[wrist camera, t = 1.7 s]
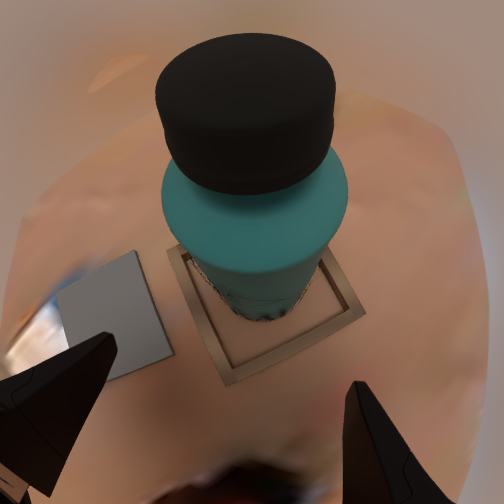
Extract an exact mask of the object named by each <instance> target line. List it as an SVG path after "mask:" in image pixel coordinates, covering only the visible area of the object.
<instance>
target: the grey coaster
mask: <svg viewBox="0 0 504 504" xmlns="http://www.w3.org/2000/svg"><path fill="white" fill-rule="evenodd" d="M56 296H57V301H58V306H59V310H60V315H61V319H62V323H63V327H64V331H65V335H66V339H67V342H68V346H69V348H71V347H73V346H75V345H77V344H79V343H81V342H83V341H85V340H87V339H89V338H91V337H93V336H95V335H97V334H99V333H101V332H103V331H106V332H109V333H112V334H113V335H114V337H115V340H116V344H117V347H118V353H117V356H116V358H115V361H114V363H113V365H112V368H111V370H110V373H109V375H108V378H107V380H106V382H108V381H110V380H113V379H116V378H118V377H121V376H123V375H126V374H128V373H131V372H133V371H136V370H138V369H141V368H143V367H146V366H148V365H151V364H153V363H156V362H158V361H160V360H163V359H165V358H168V357H170V356H172V355H175V353H174V351H173V349H172V346H171V344H170V341H169V339H168V337H167V334H166V332H165V329H164V327H163V324H162V322H161V319H160V317H159V314H158V311H157V309H156V306H155V304H154V301H153V298H152V295H151V293H150V290H149V287H148V284H147V281H146V279H145V276H144V273H143V270H142V267H141V264H140V261H139V258H138V255H137V252H136V251H135V250H132V251H130V252H128V253H127V254H125V255H123V256H121V257H119V258H117V259H115V260H113V261H111V262H110V263H108V264H106V265H104V266H102V267H100V268H99V269H97V270H95V271H93V272H91V273H90V274H88V275H86V276H84V277H82V278H81V279H79V280H77V281H75V282H74V283H72V284H70V285H68V286H67V287H65V288H63V289H61V290H60V291H58V292H56Z"/></svg>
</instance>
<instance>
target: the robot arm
mask: <svg viewBox="0 0 504 504" xmlns="http://www.w3.org/2000/svg"><path fill="white" fill-rule="evenodd" d="M117 353H118V347H117V344H116V340H115V337H114V335H113V334H112V333H109V332H106V331H103V332H101V333H99V334H97V335H95V336H93V337H91V338H89V339H87V340H85V341H83V342H81V343H79V344H77V345H75V346H73V347H71V348H69V349H67V350H65V351H63V352H61V353H59V354H57V355H55V356H53V357H51V358H49V359H47V360H45V361H43V362H41V363H39V364H37V365H36V366H33V367H31V368H29V369H27V370H25V371H23V372H21V373H19V374H16V375H14V376H12V377H9V378H7V379H4V380H1V381H0V504H31V500H30V497H29V493H28V491H27V489H28V488H29V486H32V487H33V488H35V489H36V490H38V491H39V492H41V493H42V494H44V495H46V496H47V497H49V498H50V496H51V494H52V492H53V490H54V487H55V485H56V483H57V481H58V478H59V476H60V474H61V471H62V469H63V467H64V465H65V463H66V460H67V458H68V456H69V454H70V452H71V450H72V447H73V445H74V443H75V441H76V439H77V437H78V435H79V433H80V431H81V429H82V427H83V425H84V423H85V421H86V419H87V417H88V415H89V413H90V411H91V409H92V407H93V405H94V403H95V402H96V400H97V398H98V396H99V394H100V392H101V390H102V388H103V386H104V384H105V382H106V380H107V378H108V375H109V373H110V370H111V368H112V365H113V363H114V361H115V358H116V356H117ZM342 441H343V503H342V504H455V503H454V502H452V501H451V500H450V499H448V498H447V496H446V495H445V494H444V493H443V492H442V491H441V489H440V488H439V487H438V486H437V485H436V484H435V482H434V481H433V480H432V479H431V478H430V476H429V475H428V474H427V473H426V471H425V470H424V469H423V467H422V466H421V465H420V463H419V462H418V460H417V459H416V457H415V456H414V454H413V453H412V451H410V448H409V447H408V445H407V444H406V442H405V441H404V439H403V437H402V436H401V434H400V433H399V431H398V430H397V428H396V427H395V425H394V424H393V422H392V421H391V419H390V418H389V416H388V415H387V413H386V412H385V410H384V409H383V407H382V406H381V404H380V403H379V401H378V400H377V398H376V397H375V395H374V394H373V392H372V391H371V390H370V388H369V387H368V385H367V384H366V382H364V381H354V382H353V383H352V385H351V387H350V389H349V390H348V392H347V395H346V398H345V411H344V423H343V438H342Z"/></svg>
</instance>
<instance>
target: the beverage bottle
mask: <svg viewBox="0 0 504 504" xmlns="http://www.w3.org/2000/svg"><path fill="white" fill-rule="evenodd" d="M335 92H336V82H335V78H334V74H333V70H332V68H331V66H330V64H329V63H328V61H327V60H326V59H325V58H324V57H323V56H322V55H321V54H320V53H318V52H317V51H316V50H314V49H313V48H311V47H310V46H308V45H306V44H304V43H302V42H299V41H296V40H294V39H291V38H287V37H283V36H278V35H272V34H263V33H243V34H232V35H226V36H222V37H217V38H213V39H210V40H208V41H205V42H202V43H200V44H197V45H195V46H193V47H191V48H189V49H187V50H186V51H184V52H183V53H181V54H180V55H178V56H177V57H175V58H174V59H173V60H172V61H171V62H170V63H169V64H168V65H167V66H166V67H165V68H164V70H163V71H162V73H161V74H160V76H159V79H158V81H157V84H156V90H155V94H156V96H155V100H156V105H157V109H158V112H159V115H160V118H161V122H162V125H163V128H164V134H165V140H166V143H167V146H168V149H169V151H170V154H171V156H172V159H171V160H170V162H169V164H168V167H167V169H166V171H165V175H164V178H163V183H162V190H161V198H162V207H163V213H164V216H165V219H166V222H167V224H168V226H169V228H170V230H171V232H172V233H173V235H174V236H175V238H176V239H177V240H178V242H179V243H180V244H181V245H182V246H183V249H184V248H185V249H186V251H187V252H189V253H190V254H189V253H188V254H189V255H191V256H189V257H191V258H193V259H194V261H195V262H196V263H197V266H198V267H200V268H201V270H202V271H203V272H204V274H205V275H206V276H207V277H208V280H209V281H210V283H211V282H212V284H213V285H214V286H213V285H212V284H210V283H209V282H207V281H206V282H207V283H209V284H210V285H211V286H212V287H214V289H217V290H216V291H217V293H219V292H220V293H219V294H221V295H219V296H223V297H224V299H225V300H226V301H227V302H228V303H229V305H230V306H231V307H232V308H231V307H230V308H231V309H232V310H233V312H235V313H236V314H238V313H239V314H240V315H242V316H243V317H245V318H246V319H250V320H251V321H252V319H253V320H255V321H258V320H267V321H268V320H273V319H275V318H277V317H282V316H286V315H285V313H287V312H288V311H289V310H290V309H291V308H292V307H293V306H294V305H295V304H296V302H297V301H298V300H299V299H300V298H299V297H302V296H301V294H302V292H303V291H304V290H305V287H306V286H307V284H308V282H309V281H310V279H311V277H312V276H313V274H314V272H315V269H316V266H317V265H318V263H319V261H320V259H321V257H322V255H323V253H324V251H325V249H326V247H327V245H328V243H329V242H330V240H331V239H332V238H333V236H334V235H335V234H336V232H337V230H338V228H339V226H340V224H341V222H342V220H343V217H344V214H345V211H346V207H347V202H348V185H347V179H346V175H345V171H344V168H343V166H342V163H341V161H340V159H339V157H338V156H337V154H336V152H335V151H334V150H333V148H332V147H331V146H330V143H331V139H332V135H333V129H334V117H333V112H334V102H335ZM184 252H185V251H184ZM186 257H187V256H186ZM191 258H190V259H191ZM191 261H193V260H192V259H191ZM194 261H193V262H194ZM193 262H192V263H193ZM193 265H194V263H193ZM319 265H320V264H319ZM194 266H195V265H194ZM195 267H196V266H195ZM318 270H319V269H318ZM198 272H199V271H198ZM200 272H201V271H200ZM317 273H318V272H317ZM204 274H203V275H204ZM200 275H201V276H202V273H201V274H200ZM204 277H205V276H204ZM205 278H206V277H205ZM310 283H311V282H310ZM309 285H310V284H309ZM215 287H216V288H215ZM307 290H308V289H307ZM305 291H306V290H305ZM304 293H305V292H304ZM303 296H304V295H303ZM220 298H221V297H220ZM221 299H222V298H221ZM224 299H222V300H224ZM301 299H302V298H301ZM226 301H225V302H226ZM299 302H300V301H299ZM228 303H227V304H228ZM227 304H226V305H227ZM229 305H228V306H229ZM297 305H298V304H297ZM295 307H296V306H295ZM290 312H291V311H290ZM288 313H289V312H288ZM239 314H238V315H239ZM250 320H249V321H250ZM277 320H278V319H277ZM267 321H265V322H267ZM253 322H254V321H253ZM258 322H259V321H258ZM262 322H263V321H262ZM270 322H271V321H270Z"/></svg>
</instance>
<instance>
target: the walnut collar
mask: <svg viewBox="0 0 504 504" xmlns="http://www.w3.org/2000/svg"><path fill="white" fill-rule="evenodd" d="M166 251H167V254H168V257H169V259H170V262H171V265H172V267H173V270H174V272H175V275H176V277H177V280H178V282H179V285H180V287H181V290H182V292H183V294H184V297H185V299H186V302H187V304H188V306H189V309H190V311H191V313H192V316H193V318H194V320H195V322H196V325H197V327H198V329H199V332H200V334H201V336H202V338H203V340H204V343H205V345H206V347H207V349H208V351H209V353H210V355H211V358H212V360H213V362H214V364H215V366H216V368H217V370H218V372H219V374H220V376H221V378H222V380H223V382H224V384H225V386H228V385H231V384H233V383H235V382H238V381H240V380H242V379H244V378H247V377H249V376H251V375H253V374H255V373H257V372H260V371H262V370H264V369H266V368H268V367H270V366H272V365H274V364H276V363H278V362H280V361H282V360H284V359H286V358H288V357H290V356H292V355H294V354H296V353H298V352H300V351H302V350H304V349H306V348H307V347H309V346H311V345H313V344H315V343H317V342H319V341H320V340H322V339H324V338H326V337H328V336H329V335H331V334H333V333H335V332H336V331H338V330H340V329H342V328H343V327H345V326H347V325H348V324H350V323H352V322H353V321H355V320H357V319H358V318H360V317H362V316H363V315H365V314H366V312H365V310H364V308H363V306H362V305H361V303H360V301H359V299H358V297H357V296H356V294H355V292H354V290H353V288H352V287H351V285H350V283H349V281H348V280H347V278H346V276H345V274H344V273H343V271H342V269H341V267H340V266H339V264H338V262H337V261H336V259H335V257H334V256H333V254H332V252H331V250H330V249H329V247H328V245H327V247H326V249H325V251H324V253H323V255H322V257H321V259H320V261H319V263H318V264H320V265H319V266H320V267H321V269H322V271H323V273H324V274H325V276H326V278H327V280H328V281H329V283H330V285H331V287H332V289H333V290H334V292H335V294H336V296H337V298H338V299H339V301H340V303H341V305H342V307H343V309H344V310H345V312H344V313H342V314H340V315H338V316H337V317H335V318H333V319H331V320H330V321H328V322H326V323H324V324H322V325H321V326H319V327H317V328H315V329H313V330H311V331H310V332H308V333H306V334H304V335H302V336H300V337H298V338H296V339H294V340H292V341H291V342H289V343H287V344H285V345H283V346H281V347H279V348H277V349H275V350H273V351H271V352H269V353H267V354H264V355H262V356H260V357H258V358H256V359H254V360H252V361H250V362H248V363H245V364H243V365H241V366H239V367H237V368H234V367H233V365H232V363H231V361H230V359H229V357H228V355H227V353H226V350H225V348H224V346H223V344H222V342H221V340H220V338H219V336H218V334H217V331H216V329H215V327H214V325H213V323H212V321H211V318H210V316H209V314H208V312H207V310H206V307H205V305H204V303H203V301H202V298H201V296H200V294H199V292H198V289H197V287H196V285H195V282H194V280H193V278H192V275H191V273H190V271H189V268H188V266H187V263H186V261H187V260H189V259H190V258H191V257H189V256H191V255H189V254H190V253H189V252H187V251H186V249H185V248H184V249H183V246H182V245H181V244H178V245H176V246H174V247H172V248H170V249H168V250H166ZM184 251H185V252H184ZM188 253H189V254H188ZM186 256H187V257H186Z"/></svg>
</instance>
